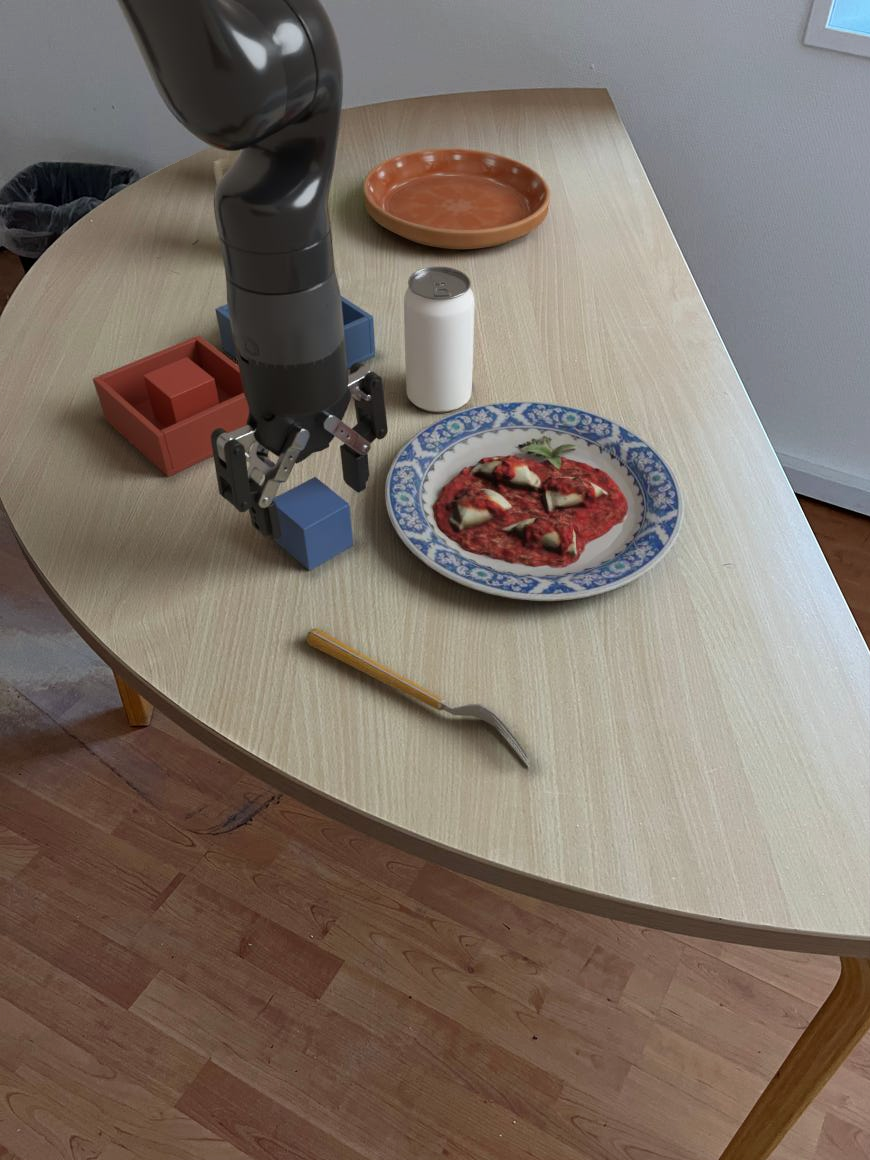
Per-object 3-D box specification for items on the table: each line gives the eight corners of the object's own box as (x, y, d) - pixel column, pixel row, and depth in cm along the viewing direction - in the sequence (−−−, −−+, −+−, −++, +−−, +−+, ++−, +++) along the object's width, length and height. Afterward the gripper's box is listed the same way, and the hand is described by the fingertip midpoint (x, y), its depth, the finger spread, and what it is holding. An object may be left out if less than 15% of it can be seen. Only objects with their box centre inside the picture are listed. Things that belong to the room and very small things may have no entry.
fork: (296, 636, 72) (527, 756, 65) (311, 617, 72) (541, 733, 65) (305, 653, 74) (530, 770, 67) (319, 634, 74) (543, 748, 68)
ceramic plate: (605, 664, 73) (610, 639, 71) (327, 542, 81) (323, 516, 78) (721, 478, 88) (728, 452, 86) (477, 390, 96) (478, 364, 93)
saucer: (486, 162, 130) (488, 133, 127) (583, 234, 118) (587, 204, 115) (333, 197, 122) (331, 167, 119) (420, 278, 109) (420, 247, 107)
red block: (180, 440, 88) (170, 398, 85) (153, 417, 90) (142, 375, 87) (223, 420, 90) (214, 378, 87) (196, 398, 92) (186, 356, 89)
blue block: (309, 571, 78) (303, 529, 75) (276, 542, 80) (269, 500, 77) (353, 545, 80) (349, 504, 77) (320, 517, 83) (315, 476, 79)
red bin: (168, 477, 85) (157, 436, 82) (104, 419, 90) (91, 378, 87) (272, 427, 91) (266, 386, 87) (206, 375, 96) (198, 334, 92)
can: (466, 374, 97) (469, 262, 88) (476, 412, 93) (481, 298, 84) (402, 378, 96) (399, 265, 87) (410, 417, 92) (407, 303, 83)
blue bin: (286, 397, 94) (281, 357, 90) (222, 348, 99) (214, 308, 95) (375, 355, 99) (373, 316, 96) (310, 311, 104) (306, 272, 101)
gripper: (337, 274, 70) (353, 451, 83) (167, 345, 64) (212, 526, 76) (403, 315, 67) (410, 494, 79) (231, 394, 60) (267, 576, 73)
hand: (313, 509), depth 78 cm, fingers open, 8 cm apart
